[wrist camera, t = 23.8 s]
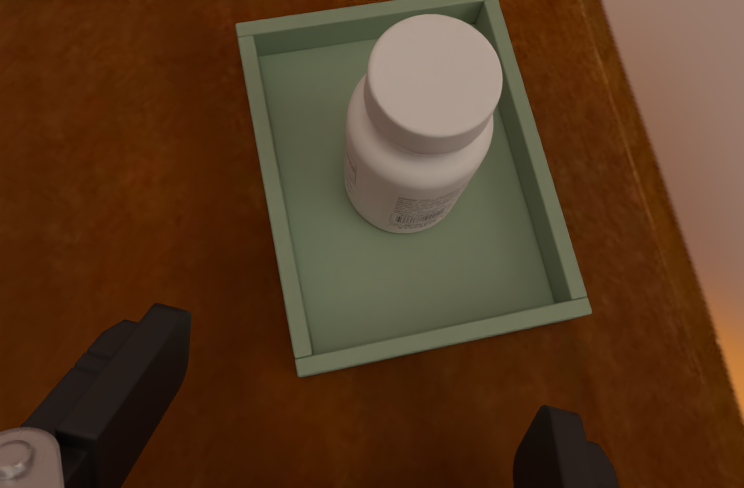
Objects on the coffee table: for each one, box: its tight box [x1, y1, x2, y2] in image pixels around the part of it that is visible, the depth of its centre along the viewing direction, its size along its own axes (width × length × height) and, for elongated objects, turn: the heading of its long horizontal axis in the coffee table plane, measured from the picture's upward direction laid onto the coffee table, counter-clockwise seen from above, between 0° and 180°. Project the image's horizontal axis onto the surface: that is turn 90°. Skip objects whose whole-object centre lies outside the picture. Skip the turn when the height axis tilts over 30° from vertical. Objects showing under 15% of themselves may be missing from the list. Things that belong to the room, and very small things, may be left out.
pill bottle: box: [344, 14, 503, 233], centre depth 18 cm, size 4×4×8 cm
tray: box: [235, 0, 592, 377], centre depth 21 cm, size 13×10×2 cm
